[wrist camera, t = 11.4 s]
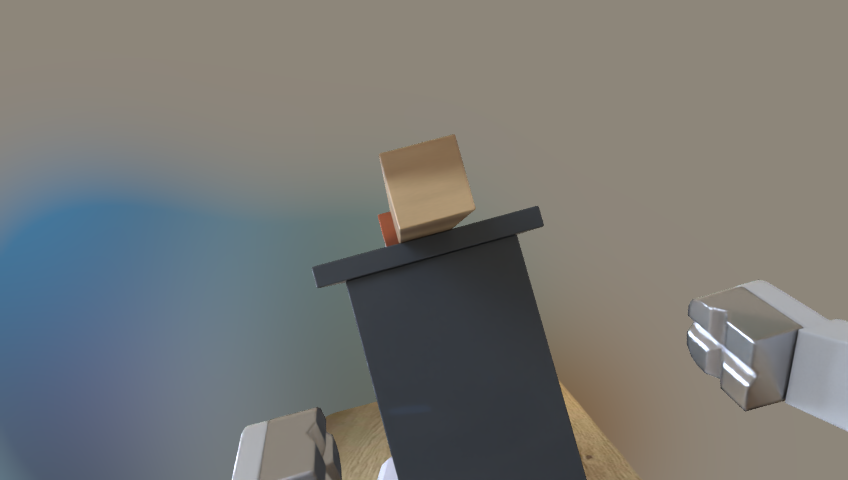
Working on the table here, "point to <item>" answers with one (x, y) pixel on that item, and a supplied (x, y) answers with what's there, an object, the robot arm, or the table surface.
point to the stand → (460, 355)
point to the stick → (424, 190)
